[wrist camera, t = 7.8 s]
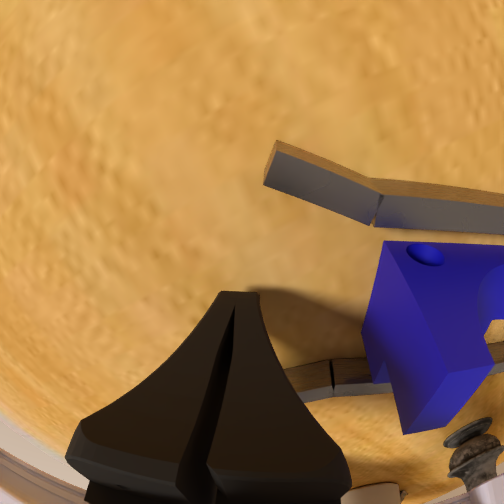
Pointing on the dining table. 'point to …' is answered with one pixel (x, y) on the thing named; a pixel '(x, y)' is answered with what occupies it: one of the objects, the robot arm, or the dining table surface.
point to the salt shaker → (474, 453)
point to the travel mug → (373, 494)
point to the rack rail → (381, 215)
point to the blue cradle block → (433, 326)
